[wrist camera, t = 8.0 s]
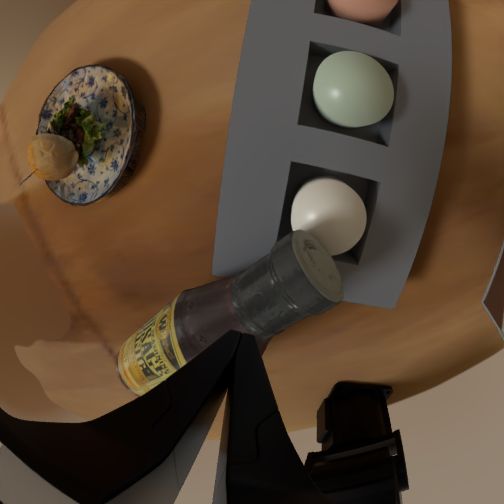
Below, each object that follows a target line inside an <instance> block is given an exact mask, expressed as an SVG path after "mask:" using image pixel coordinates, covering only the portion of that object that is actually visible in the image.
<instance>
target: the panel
mask: <svg viewBox="0 0 504 504" xmlns="http://www.w3.org/2000/svg"><path fill="white" fill-rule="evenodd" d="M342 51H355V52H360V53H363V54H365V55H368V56H370V57H371V58H373V59H375V60H376V61H377V62H378V63H379V64H380V65H382V66H383V68H384V69H385V70H386V72H387V73H388V75H389V77H390V79H391V81H392V84H393V89H394V100H393V104H392V107H391V109H390V111H389V112H388V113H387V115H386V116H385V117H384V118H383V119H381V120H380V121H378V122H376V123H374V124H371V125H366V126H362V127H358V128H353V129H345V128H340V127H337V126H334V125H332V124H330V123H329V122H327V121H326V120H325V119H324V118H322V117H321V115H320V114H319V113H318V112H317V110H316V108H315V106H314V104H313V100H312V87H313V83H314V79H315V75H316V72H317V69H318V67H319V66H320V64H321V63H322V62H323V61H324V60H325V59H326V58H327V57H329V56H330V55H332V54H334V53H337V52H342ZM451 79H452V36H451V21H450V10H449V1H448V0H398V2H397V4H396V5H395V6H394V8H393V9H392V10H391V12H390V13H389V14H388V16H387V17H386V18H385V20H384V21H383V22H382V23H381V24H380V25H379V26H377V27H375V28H374V27H371V26H368V25H364V24H361V23H357V22H353V21H349V20H345V19H341V18H337V17H333V16H332V15H331V14H330V13H329V12H328V10H327V9H326V7H325V3H324V0H251V5H250V10H249V15H248V20H247V25H246V30H245V35H244V40H243V46H242V51H241V57H240V62H239V68H238V74H237V80H236V86H235V92H234V98H233V104H232V111H231V117H230V124H229V131H228V138H227V145H226V152H225V160H224V167H223V175H222V183H221V191H220V199H219V208H218V217H217V226H216V236H215V245H214V256H213V266H212V275H215V276H220V277H225V278H228V277H231V276H235V275H238V274H239V273H241V272H242V271H245V270H247V269H248V268H250V267H251V266H252V265H253V264H255V263H256V262H257V261H259V260H260V259H261V258H263V257H264V256H266V255H267V254H269V253H270V250H271V249H272V247H273V246H274V244H275V243H276V242H277V241H279V240H281V239H282V238H283V237H285V236H286V235H288V234H289V233H291V232H292V231H293V229H292V225H291V212H292V201H293V197H294V194H295V192H296V190H297V188H298V187H299V186H300V185H301V184H302V183H303V182H304V181H305V180H307V179H309V178H311V177H313V176H317V175H331V176H334V177H337V178H339V179H340V180H342V181H343V182H345V183H346V184H347V185H348V186H349V187H350V188H352V189H353V190H354V191H355V192H356V193H357V194H358V195H359V197H360V198H361V200H362V201H363V204H364V206H365V209H366V217H367V219H366V227H365V230H364V233H363V235H362V237H361V238H360V240H359V241H358V242H357V243H356V245H354V246H353V247H352V248H351V249H349V250H348V251H346V252H344V253H341V254H338V255H332V256H331V257H332V259H333V260H334V262H335V264H336V266H337V268H338V270H339V273H340V275H341V278H342V281H343V285H344V298H343V299H342V300H341V301H346V302H352V303H358V304H364V305H370V306H375V307H382V308H388V309H394V308H395V306H396V304H397V301H398V299H399V297H400V294H401V292H402V290H403V287H404V285H405V282H406V280H407V277H408V275H409V272H410V269H411V267H412V264H413V261H414V259H415V256H416V253H417V250H418V247H419V244H420V241H421V238H422V235H423V232H424V229H425V226H426V222H427V219H428V215H429V212H430V208H431V205H432V201H433V197H434V193H435V189H436V185H437V180H438V176H439V171H440V166H441V161H442V156H443V151H444V145H445V139H446V132H447V125H448V116H449V107H450V95H451Z"/></svg>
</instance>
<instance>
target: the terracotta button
mask: <svg viewBox="0 0 504 504" xmlns="http://www.w3.org/2000/svg"><path fill="white" fill-rule="evenodd" d="M397 2H398V0H324V3H325V7H326V9H327V10H328V12H329V13H330V14H331V15H332V16H333V17H337V18H341V19H345V20H349V21H353V22H357V23H361V24H364V25H368V26H371V27H374V28H375V27H377V26H379V25H380V24H381V23H382V22H383V21H384V20H385V18H386V17H387V16H388V14H389V13H390V12H391V10H392V9H393V8H394V6H395V5H396V4H397Z"/></svg>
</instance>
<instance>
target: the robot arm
mask: <svg viewBox="0 0 504 504" xmlns="http://www.w3.org/2000/svg"><path fill="white" fill-rule="evenodd" d="M227 389H228V391H227ZM226 392H227V396H226V404H225V411H224V418H223V426H222V433H221V441H220V449H219V456H218V464H217V472H216V480H215V487H214V494H213V502H212V504H402V495H401V492H402V491H405V490H408V489H409V485H408V477H407V470H406V463H405V457H404V451H403V445H402V440H401V435H400V431H399V430H395V431H394V432H392V429H391V423H390V418H389V413H388V408H387V403H386V400H387V399H388V398H389V396H390V395H391V394H392V392H393V390H392V387H388V386H371V385H358V384H347V383H337V384H335V385H334V387H333V388H332V390H331V392H330V394H329V395H328V397H327V398H325V399H324V401H323V402H322V404H321V406H320V408H319V409H318V411H317V442H318V443H322V451H319V452H309V453H308V455H307V459H306V461H305V465H303V463H302V461H301V459H300V457H299V456H298V454H297V452H296V450H295V448H294V446H293V444H292V442H291V440H290V438H289V436H288V434H287V431H286V428H285V426H284V423H283V421H282V418H281V415H280V412H279V411H278V410H279V409H278V406H277V403H276V400H275V397H274V394H273V391H272V388H271V385H270V381H269V378H268V375H267V372H266V369H265V366H264V363H263V360H262V356H261V353H260V350H259V347H258V344H257V341H256V337H255V336H254V335H253V334H248V333H242V332H240V331H236V330H232V329H230V330H229V331H227V332H226V333H225V334H224V335H222V336H221V337H220V338H219V339H217V340H216V341H215V342H213V343H212V344H211V345H210V346H208V347H207V348H206V349H205V350H203V351H202V352H201V353H199V354H198V355H197V356H196V357H194V358H193V359H192V360H190V361H189V362H188V363H186V364H185V365H184V366H182V367H181V368H180V369H178V370H177V371H176V372H174V373H173V374H172V375H170V376H169V377H168V378H166V379H165V380H164V381H162V382H161V383H159V384H158V385H157V386H155V387H154V388H152V389H151V390H149V391H148V392H146V393H145V394H143V395H142V396H140V397H138V398H136V399H135V400H133V401H131V402H129V403H127V404H125V405H123V406H121V407H119V408H117V409H115V410H113V411H111V412H109V413H107V414H105V415H103V416H101V417H99V418H97V419H94V420H91V421H87V422H82V423H55V422H37V421H27V420H21V419H18V418H14V417H12V416H11V415H9V414H7V413H6V412H5V411H4V410H2V409H1V408H0V442H1V443H2V444H3V445H2V446H1V448H0V504H174V502H175V500H176V498H177V496H178V493H179V491H180V490H181V488H182V486H183V484H184V482H185V480H186V478H187V476H188V474H189V472H190V470H191V468H192V465H193V463H194V461H195V459H196V457H197V455H198V453H199V451H200V449H201V447H202V445H203V443H204V440H205V438H206V436H207V434H208V432H209V430H210V428H211V425H212V423H213V421H214V419H215V417H216V415H217V412H218V410H219V408H220V406H221V404H222V401H223V399H224V397H225V395H226ZM395 454H397V455H395ZM392 455H395V456H392Z"/></svg>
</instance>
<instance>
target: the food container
mask: <svg viewBox="0 0 504 504" xmlns="http://www.w3.org/2000/svg"><path fill="white" fill-rule="evenodd" d="M481 303H482V305H483V306H484V308H485V309H486V311H487V313H488V314H489V316H490V317H491V319H492V321H493V322H494V324H495V326H496V327H497V329H498V331H499V332H500V334H501V336H502V338H503V339H504V241H503V245H502V248H501V251H500V254H499V257H498V260H497V263H496V266H495V269H494V272H493V274H492V277H491V279H490V282H489V285H488V287H487V289H486V292H485V294H484V297H483V299H482V301H481Z"/></svg>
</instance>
